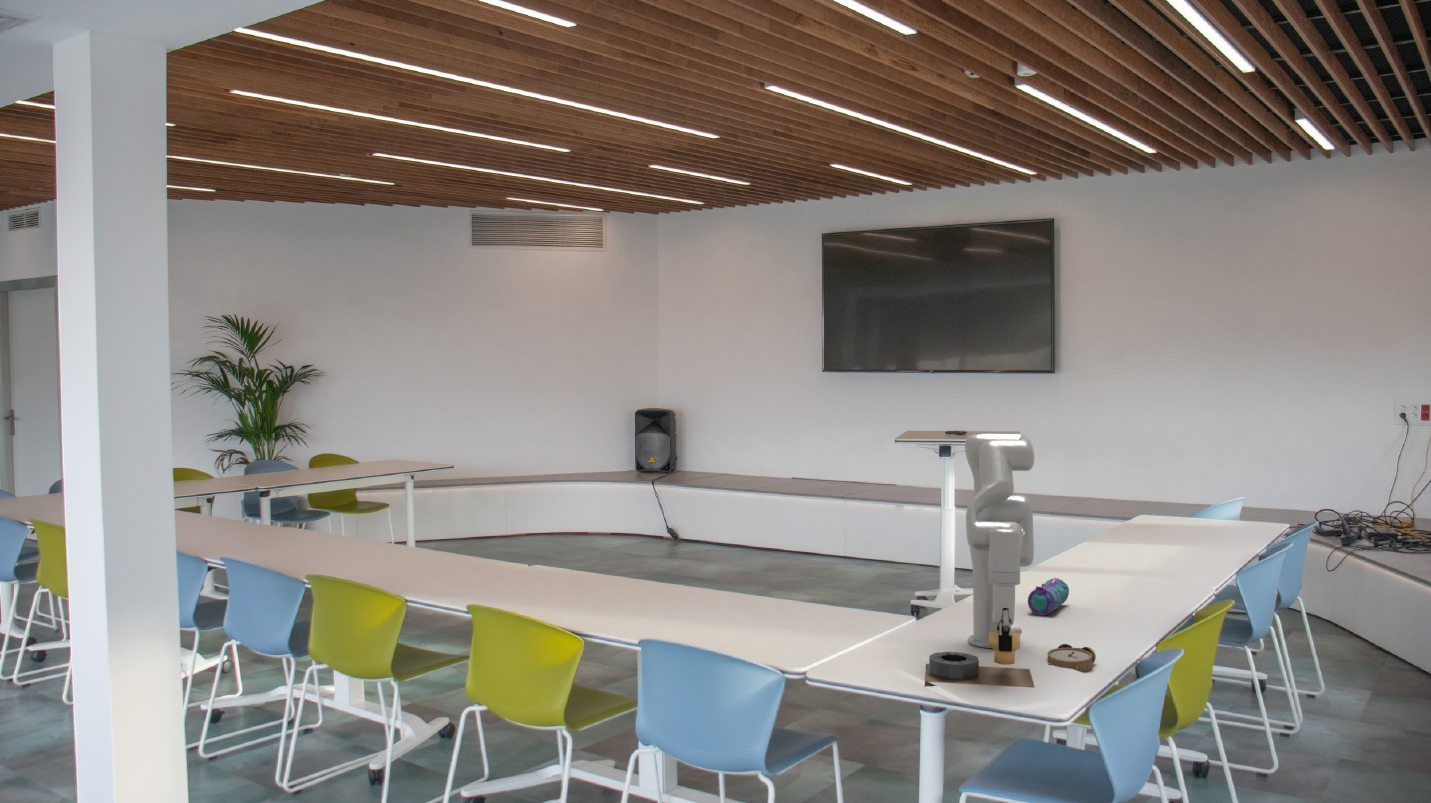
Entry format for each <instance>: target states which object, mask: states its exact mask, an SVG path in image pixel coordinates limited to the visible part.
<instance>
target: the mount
mask: <svg viewBox="0 0 1431 803" xmlns="http://www.w3.org/2000/svg"><path fill="white" fill-rule="evenodd" d="M1032 676H1033V675H1032V673H1031V669H1030V668H1021V667H1020V668H1018V667H1017V668H1016V667H998V666H995V667H994V666H980V665H979V676H978V677H977V678H975V679H972V680H965V681H952V680H944V679H939V678H936V677H934V676H932V675H930V672H929V663H926V664H925V675H924V687H932V686H937V685H935V684H934V683H949V684H965V685H966V684H967V685H984V686H986V685H987V686H1000V687H1001V686H1004V687H1023V688H1035V684H1034V680H1033V677H1032Z"/></svg>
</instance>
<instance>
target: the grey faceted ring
mask: <svg viewBox="0 0 1431 803" xmlns="http://www.w3.org/2000/svg"><path fill="white" fill-rule="evenodd" d="M928 660H929V661H928V664H929V672H930V675H932V676H934V677H936V678H939V679H944V680H952V681H965V680H972V679H975V678H977V677H978V676H979V666H980V661H979V660H980V659H979V657H978V656H976V655H974V654H971V653H966V652H960V651H940V652H939V651H938V652H934V653H932V654H930V655H929V656H928Z"/></svg>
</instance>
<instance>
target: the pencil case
mask: <svg viewBox="0 0 1431 803" xmlns="http://www.w3.org/2000/svg"><path fill="white" fill-rule="evenodd" d="M1069 594H1070V589H1069V585H1068V584H1067V583H1066V582H1064V581H1063V580H1062V579H1060V578H1059V577H1058V578H1057V577H1054V578H1051V579H1048V580H1046V582H1044V583H1042V584H1041V586H1037V585H1035V588H1034V589H1032V591H1031V592H1030V593H1029V594H1028V597H1027V605H1028V608H1029V610H1030V611H1031V612H1032V613H1033V614H1035V615H1038V616H1041V617H1044V616H1046V615H1048V614H1052V613H1053V612H1054V611H1055V610H1056V609H1058V608H1060V607H1061V606H1062V605H1064V604H1065V602H1066V601H1067V600H1068V598H1069Z"/></svg>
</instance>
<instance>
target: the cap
mask: <svg viewBox="0 0 1431 803" xmlns="http://www.w3.org/2000/svg"><path fill="white" fill-rule="evenodd" d="M999 635H1000V630H994V631H991V632H989V646H990V647H991V648H990V649H993V662H994V663H995V664H997V665H1004V666H1005V665H1006V666H1008V665H1009V666H1011V665H1014V664H1015V663H1016V662H1015V661H1016V654H1015V653H1016V651H1018V650H1019V649H1021V634H1019V633H1017V632H1014V631H1011V635H1012V651H1011V652H1004V651H999Z"/></svg>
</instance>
